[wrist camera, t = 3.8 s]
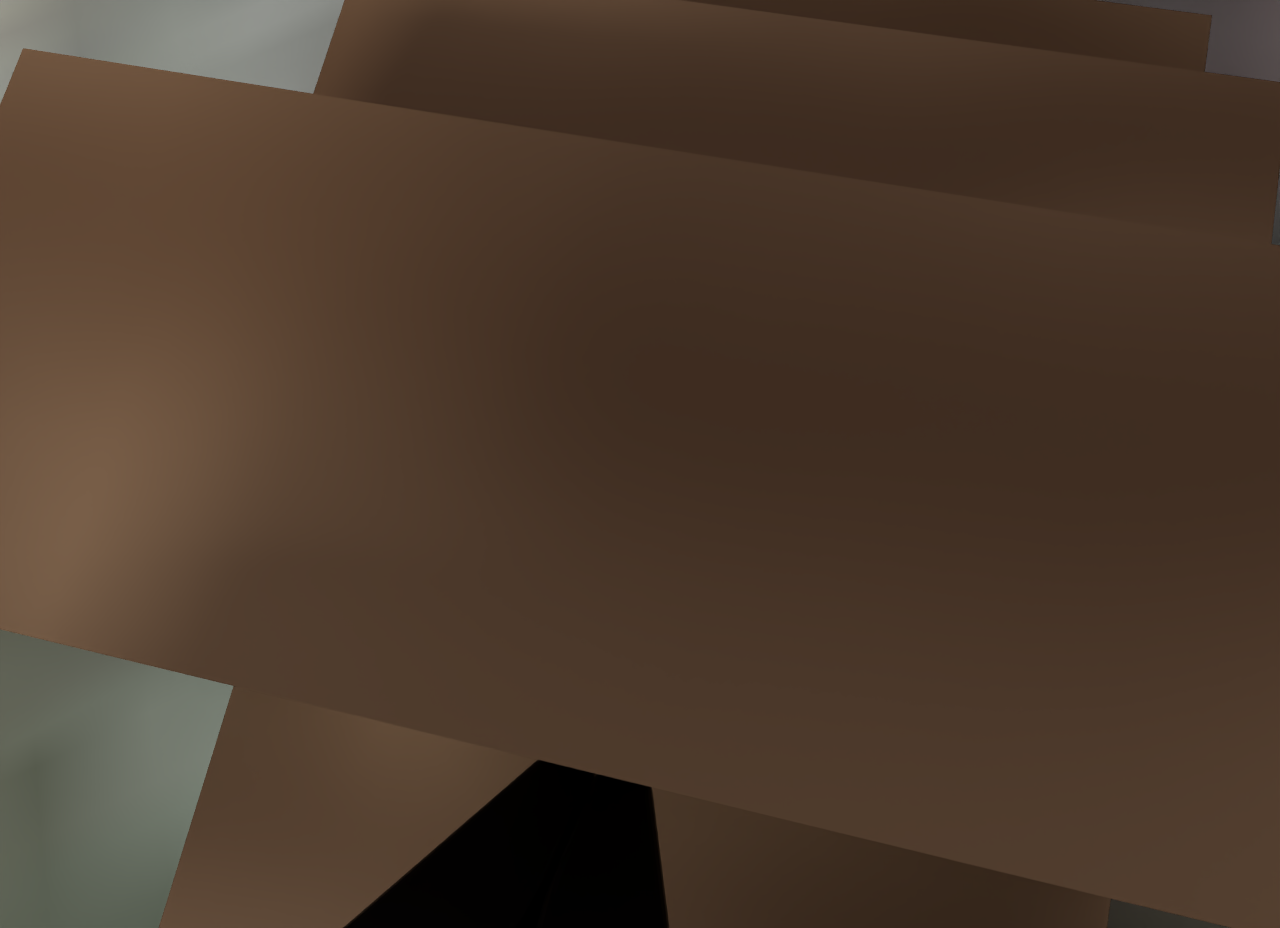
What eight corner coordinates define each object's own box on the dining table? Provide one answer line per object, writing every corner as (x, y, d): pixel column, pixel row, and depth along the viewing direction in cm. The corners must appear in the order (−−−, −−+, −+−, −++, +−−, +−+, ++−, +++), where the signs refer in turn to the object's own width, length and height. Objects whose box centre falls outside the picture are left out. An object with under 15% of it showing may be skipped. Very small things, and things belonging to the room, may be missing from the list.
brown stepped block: (993, 1313, 14) (1403, 2247, 5) (201, 1076, 15) (-553, 1469, 6) (1161, 100, 17) (1562, -583, 9) (514, 9, 19) (305, -648, 10)
